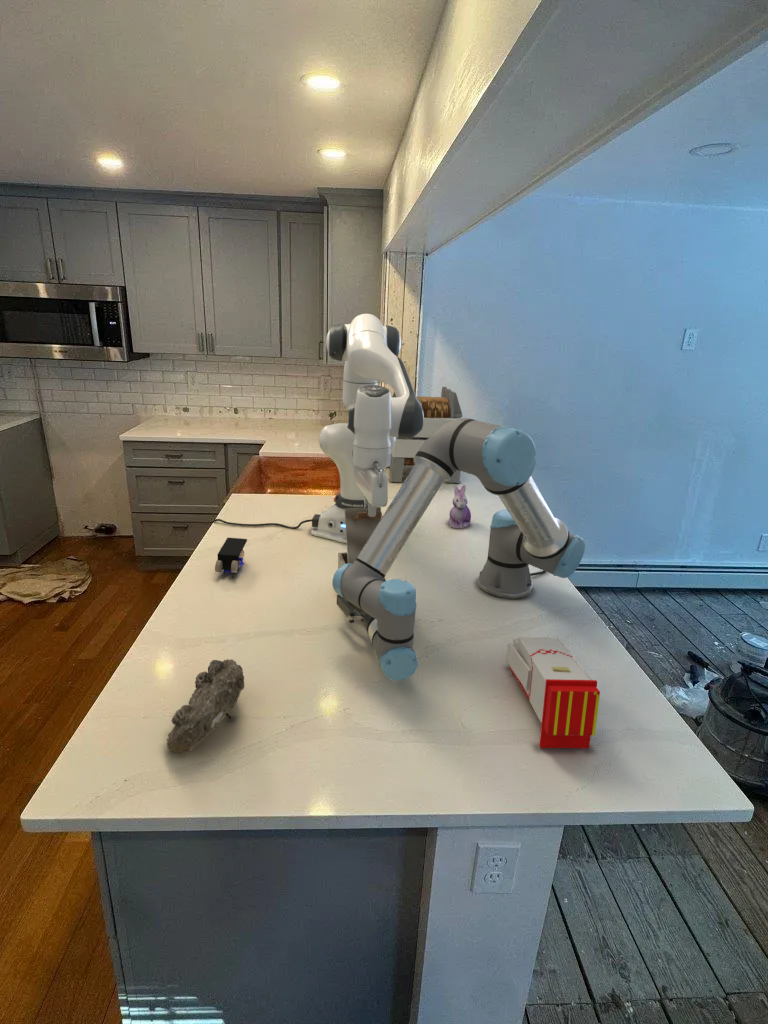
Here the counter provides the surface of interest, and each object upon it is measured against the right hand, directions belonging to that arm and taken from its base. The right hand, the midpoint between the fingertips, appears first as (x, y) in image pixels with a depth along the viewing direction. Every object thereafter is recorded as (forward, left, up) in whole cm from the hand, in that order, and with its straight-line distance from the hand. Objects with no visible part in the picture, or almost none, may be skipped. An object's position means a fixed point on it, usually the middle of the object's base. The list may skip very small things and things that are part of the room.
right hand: (363, 583), depth 148 cm
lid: (0, -1, +11) cm, 11 cm away
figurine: (-48, -55, -7) cm, 73 cm away
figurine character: (+34, -28, -7) cm, 44 cm away
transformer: (-53, -123, -7) cm, 134 cm away
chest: (0, -5, -7) cm, 9 cm away
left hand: (0, +4, +21) cm, 21 cm away
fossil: (+37, +37, -7) cm, 53 cm away
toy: (-29, +44, -7) cm, 53 cm away
